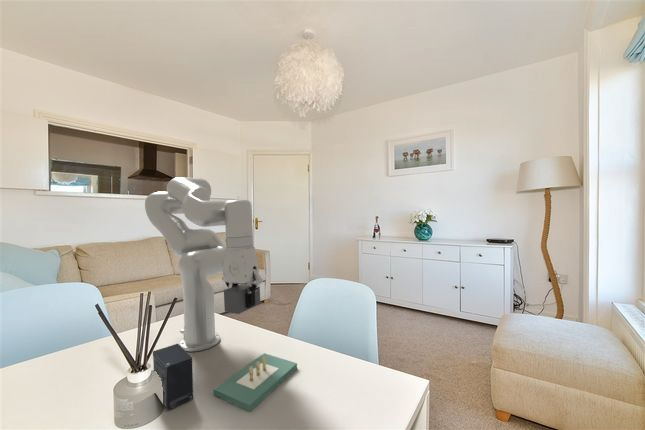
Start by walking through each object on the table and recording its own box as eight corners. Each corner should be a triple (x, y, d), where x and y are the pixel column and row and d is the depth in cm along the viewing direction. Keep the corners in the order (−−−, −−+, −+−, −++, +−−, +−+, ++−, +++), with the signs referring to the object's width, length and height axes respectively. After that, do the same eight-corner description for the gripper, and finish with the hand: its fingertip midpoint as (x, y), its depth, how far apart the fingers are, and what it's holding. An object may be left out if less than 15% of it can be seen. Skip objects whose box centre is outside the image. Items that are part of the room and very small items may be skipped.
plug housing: (224, 311, 80) (223, 290, 80) (247, 301, 88) (246, 282, 88) (238, 314, 77) (237, 292, 77) (260, 303, 85) (259, 283, 85)
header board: (213, 395, 70) (213, 388, 70) (264, 357, 87) (264, 352, 87) (250, 411, 65) (249, 404, 64) (297, 368, 81) (296, 362, 81)
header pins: (248, 380, 73) (248, 367, 73) (264, 368, 78) (263, 356, 78) (251, 381, 73) (251, 368, 73) (266, 369, 78) (266, 357, 78)
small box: (195, 398, 69) (194, 356, 69) (166, 412, 65) (164, 367, 64) (180, 380, 77) (178, 341, 76) (152, 391, 72) (151, 351, 72)
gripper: (208, 243, 83) (212, 305, 83) (253, 245, 75) (257, 313, 75) (228, 240, 89) (231, 298, 90) (271, 241, 81) (274, 304, 82)
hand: (243, 304), depth 82 cm, fingers closed on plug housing, 5 cm apart
